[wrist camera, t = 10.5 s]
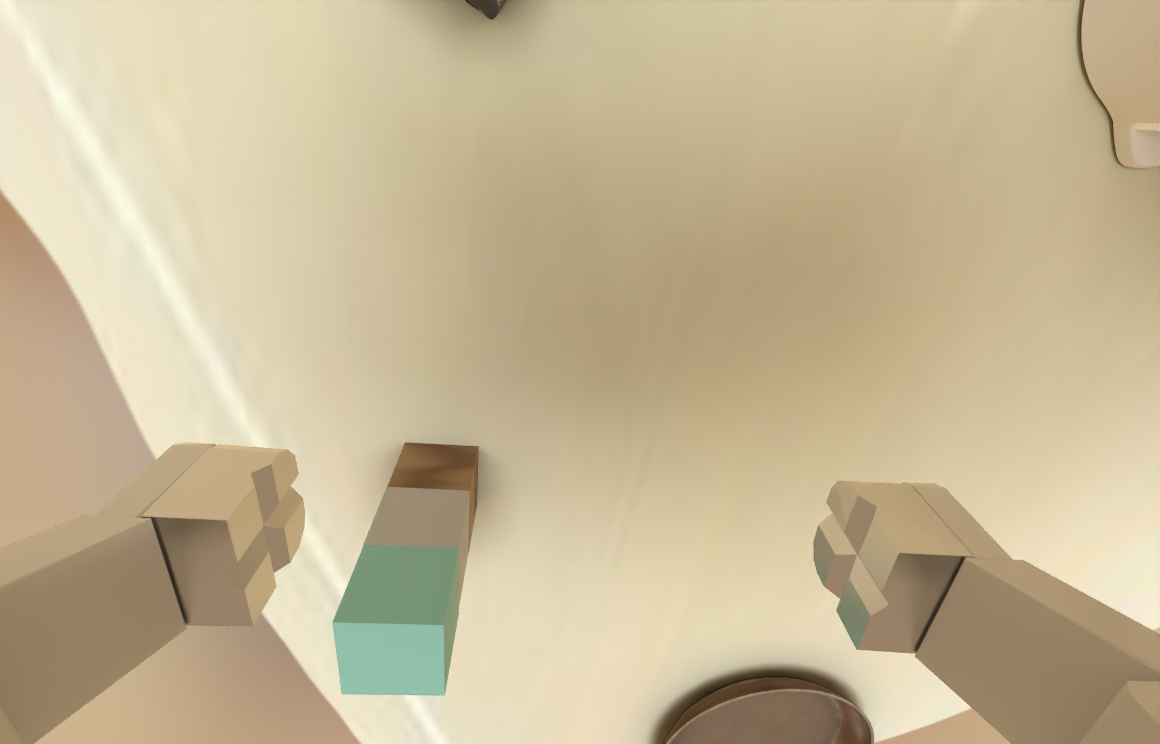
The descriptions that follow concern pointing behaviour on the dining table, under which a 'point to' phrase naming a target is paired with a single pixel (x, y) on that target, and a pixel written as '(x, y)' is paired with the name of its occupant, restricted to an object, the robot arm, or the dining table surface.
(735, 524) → the dining table surface
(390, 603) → the teal cube
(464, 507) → the grey mid block
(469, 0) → the small box
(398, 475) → the walnut base block
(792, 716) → the plant saucer
